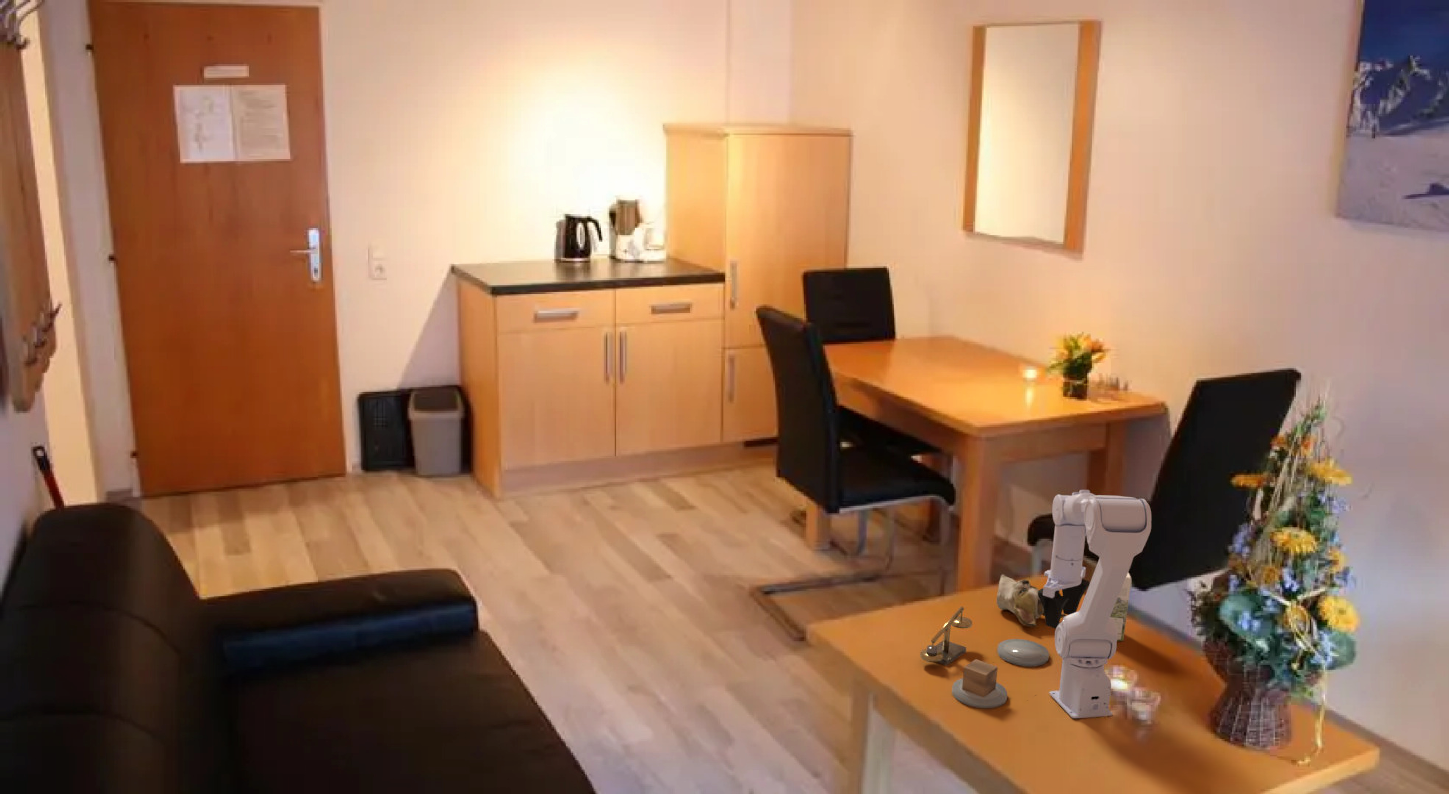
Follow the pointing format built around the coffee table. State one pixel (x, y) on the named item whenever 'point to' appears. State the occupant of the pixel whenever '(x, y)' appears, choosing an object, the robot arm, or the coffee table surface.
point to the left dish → (988, 701)
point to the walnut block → (979, 678)
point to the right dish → (1023, 652)
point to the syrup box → (1121, 608)
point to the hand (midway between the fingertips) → (1060, 620)
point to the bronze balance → (947, 642)
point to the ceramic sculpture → (1020, 600)
